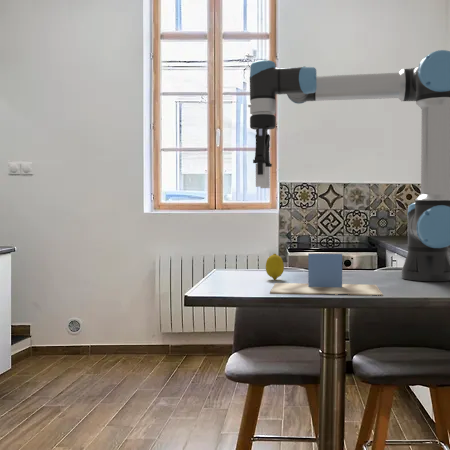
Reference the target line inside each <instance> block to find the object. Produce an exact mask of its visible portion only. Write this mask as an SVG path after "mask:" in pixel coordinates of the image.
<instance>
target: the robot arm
mask: <svg viewBox="0 0 450 450" xmlns="http://www.w3.org/2000/svg"><path fill="white" fill-rule="evenodd" d="M277 95H286V96H287V97H288V99H289V100H290V101H291V102H293V103H294V104H297V105H299V104H304V103H306V102H319V101H320V102H322V101H348V100H349V101H350V100H351V101H352V100H353V101H354V100H377V99H379V100H381V99H399V100H400V101H401V102H415V104H416V105H417V106H418V107H419V108H420V109H421V130H420V131H421V137H420V139H421V143H420V144H421V147H420V149H421V155H420V162H421V163H420V164H421V165H420V194H419V195H418V196H417V197H416V198H415V199H414V203H411V204H409V206H408V207H407V214H406V216H407V255H406V257H405V260H404V263H403V266H402V269H401V279H403V280H409V281H418V282H449V281H450V257H449V256H450V255H449V247H450V50H446V49H439V50H435V51H433V52H430V53H429V54H428V55H426V56H424V57H423V58H422V60H421V61H420V62H419V64H418V66H416V67H412V68H402V69H401V70H400V71H399V72H388V73H387V72H386V73H385V72H383V73H382V72H381V73H363V74H362V73H359V74H337V75H336V74H335V75H317V68H316V67H314V66H299V67H298V66H297V67H282V68H281V67H277V66H276V62H274V61H272V60H264V59H263V60H256V61H253V62H252V63H251V65H250V67H249V102H250V103H248V104H247V107H248V108H250V109H249V111H250V113H249V114H250V115H251V116H249V127H250V129H252V130H254V131H255V132H256V133H255V151H254V152H255V153H254V154H255V155H254V159H252V163H253V164H255V187H259V188H260V189H270V188H271V187H270V179H271V178H270V177H271V176H270V173H271V171H270V168H271V167H273V163H271V159H270V155H271V154H270V147H271V144H270V143H271V142H270V141H271V135H270V134H269V133H268V130H273V129H276V119H277V118H276V115H275V114H276V112H277V110H276V108H277V105H276V104H277V100H276V96H277Z"/></svg>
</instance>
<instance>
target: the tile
mask: <svg viewBox="0 0 450 450" xmlns="http://www.w3.org/2000/svg"><path fill="white" fill-rule="evenodd" d="M307 257H308V259H307V261H308V263H307V265H308V266H307V267H308V271H307V274H308V276H307V277H308V283H307V284H308V287H342V284H343V253H330V252H329V253H323V252H321V253H319V252H317V253H315V252H314V253H312V252H310V253H309V252H308V256H307Z"/></svg>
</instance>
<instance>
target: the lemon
mask: <svg viewBox="0 0 450 450" xmlns="http://www.w3.org/2000/svg"><path fill="white" fill-rule="evenodd" d="M284 270H285V263H284V260H283V258H282V257H281V256H280V255H278V254H277V253H273V254H271V255H270V256H269V257H267V260H266V262H265V272H266V274H267V276H269V277H270V278H272V280H277V279H278V278H279V277H282V275H283V273H284Z"/></svg>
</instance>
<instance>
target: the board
mask: <svg viewBox="0 0 450 450" xmlns="http://www.w3.org/2000/svg"><path fill="white" fill-rule="evenodd" d="M269 294H270V295H271V294H276V295H278V294H279V295H280V294H282V295H320V294H335V295H336V296H339V295H338V294H348V295H347V296H372V295H377V296H378V295H379V296H380V295H381V297H382V296H384V294H383V292H382V291H381V290H380V289H379V287H378V286H377V284H359V283H358V284H353V283H352V284H351V283H350V284H349V283H348V284H347V283H342V287H308V283H301V282H300V283H299V282H298V283H297V282H294V283H293V282H292V283H289V282H288V283H287V282H275V283H274V285H273V286H272V288H271V290H270V292H269ZM349 294H350V295H349ZM335 295H334V296H335ZM377 296H376V297H377ZM379 296H378V297H379Z"/></svg>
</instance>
